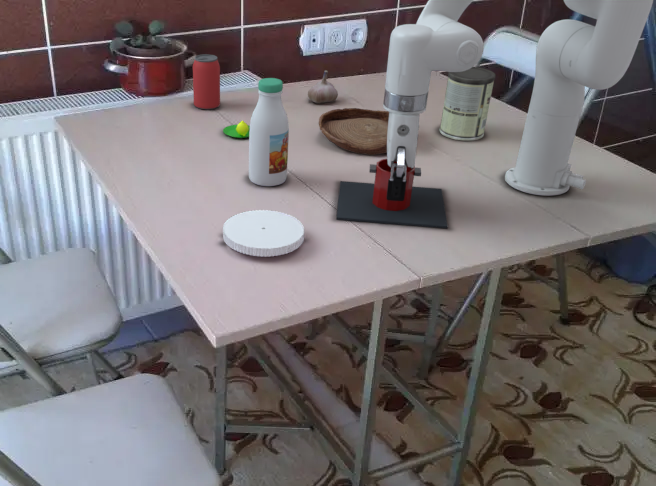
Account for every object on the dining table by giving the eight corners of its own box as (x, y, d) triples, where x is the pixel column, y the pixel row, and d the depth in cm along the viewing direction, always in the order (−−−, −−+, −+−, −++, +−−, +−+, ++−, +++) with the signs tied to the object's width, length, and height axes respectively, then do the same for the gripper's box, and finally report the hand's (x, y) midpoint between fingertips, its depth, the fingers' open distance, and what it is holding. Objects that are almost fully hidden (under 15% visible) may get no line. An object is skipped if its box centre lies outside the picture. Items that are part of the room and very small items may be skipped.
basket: (321, 156, 161) (323, 134, 158) (312, 122, 178) (314, 102, 175) (424, 156, 162) (428, 135, 159) (406, 123, 179) (409, 103, 176)
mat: (441, 190, 148) (441, 188, 148) (447, 228, 135) (447, 226, 134) (340, 183, 150) (340, 180, 150) (336, 219, 137) (336, 217, 136)
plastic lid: (214, 256, 125) (214, 243, 123) (232, 218, 136) (232, 206, 135) (297, 266, 123) (298, 252, 121) (308, 226, 134) (309, 214, 133)
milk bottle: (254, 189, 147) (256, 88, 136) (244, 173, 153) (245, 76, 142) (291, 185, 149) (296, 85, 138) (280, 169, 155) (284, 73, 144)
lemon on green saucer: (262, 137, 170) (263, 125, 168) (229, 141, 167) (229, 129, 166) (250, 125, 176) (250, 113, 174) (218, 129, 173) (218, 117, 172)
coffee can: (436, 123, 179) (446, 64, 171) (480, 126, 178) (491, 67, 171) (441, 139, 171) (451, 78, 163) (487, 142, 170) (499, 80, 162)
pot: (415, 196, 144) (420, 160, 140) (416, 212, 139) (422, 175, 134) (366, 192, 145) (370, 156, 141) (365, 208, 140) (369, 171, 135)
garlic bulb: (342, 100, 192) (344, 69, 188) (328, 108, 187) (331, 76, 182) (316, 94, 195) (318, 64, 191) (302, 102, 190) (304, 71, 186)
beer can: (191, 102, 188) (189, 54, 182) (216, 100, 190) (215, 52, 183) (197, 111, 183) (196, 62, 176) (223, 109, 185) (222, 60, 178)
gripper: (429, 118, 123) (416, 210, 133) (424, 85, 138) (413, 171, 147) (384, 115, 124) (374, 208, 134) (383, 83, 138) (374, 168, 148)
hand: (394, 188), depth 140 cm, fingers open, 9 cm apart
